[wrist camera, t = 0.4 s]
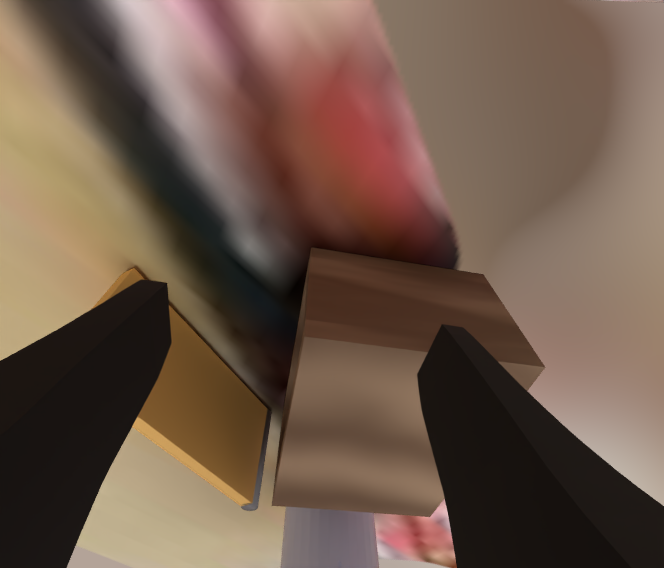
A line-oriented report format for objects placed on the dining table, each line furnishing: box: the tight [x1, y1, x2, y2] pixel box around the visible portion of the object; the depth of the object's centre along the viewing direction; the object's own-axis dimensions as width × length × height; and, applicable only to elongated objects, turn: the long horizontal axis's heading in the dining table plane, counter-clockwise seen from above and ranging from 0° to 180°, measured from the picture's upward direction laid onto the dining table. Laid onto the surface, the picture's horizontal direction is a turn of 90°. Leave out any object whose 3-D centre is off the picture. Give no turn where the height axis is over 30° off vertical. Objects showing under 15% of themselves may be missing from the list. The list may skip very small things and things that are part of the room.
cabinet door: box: [91, 268, 272, 511], centre depth 21 cm, size 15×1×7 cm, turn 25°
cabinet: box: [272, 247, 545, 517], centre depth 21 cm, size 14×10×7 cm
